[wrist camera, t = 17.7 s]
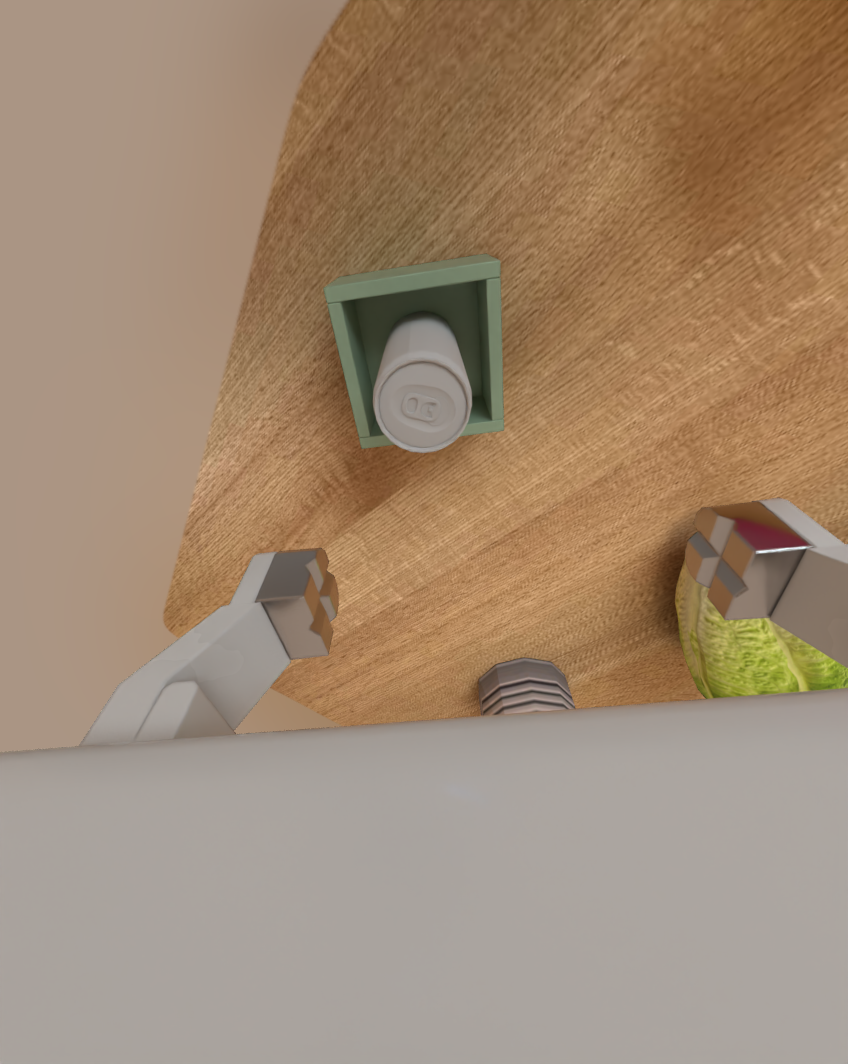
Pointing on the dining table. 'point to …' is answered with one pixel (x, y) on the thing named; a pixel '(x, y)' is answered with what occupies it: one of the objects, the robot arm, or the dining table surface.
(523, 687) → the can
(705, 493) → the dining table surface
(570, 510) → the dining table surface
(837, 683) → the lettuce
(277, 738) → the robot arm
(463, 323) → the bin
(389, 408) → the beverage can
